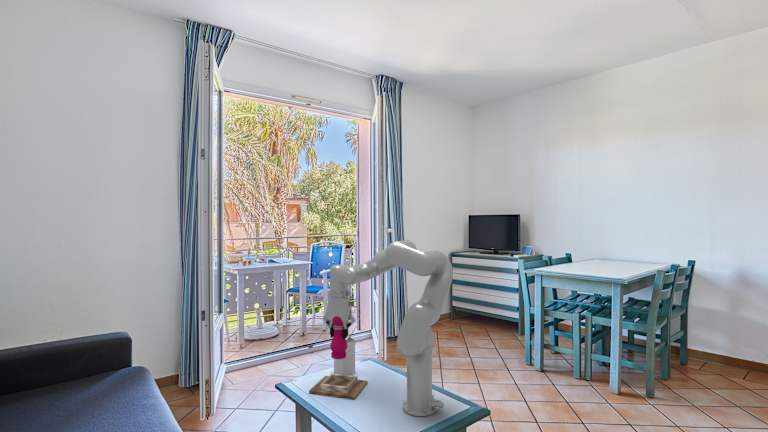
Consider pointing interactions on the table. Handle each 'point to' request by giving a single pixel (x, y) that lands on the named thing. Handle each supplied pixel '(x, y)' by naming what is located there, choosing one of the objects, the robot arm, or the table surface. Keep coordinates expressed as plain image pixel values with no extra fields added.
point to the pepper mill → (338, 340)
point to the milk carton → (346, 359)
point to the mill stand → (339, 386)
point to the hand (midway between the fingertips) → (338, 336)
